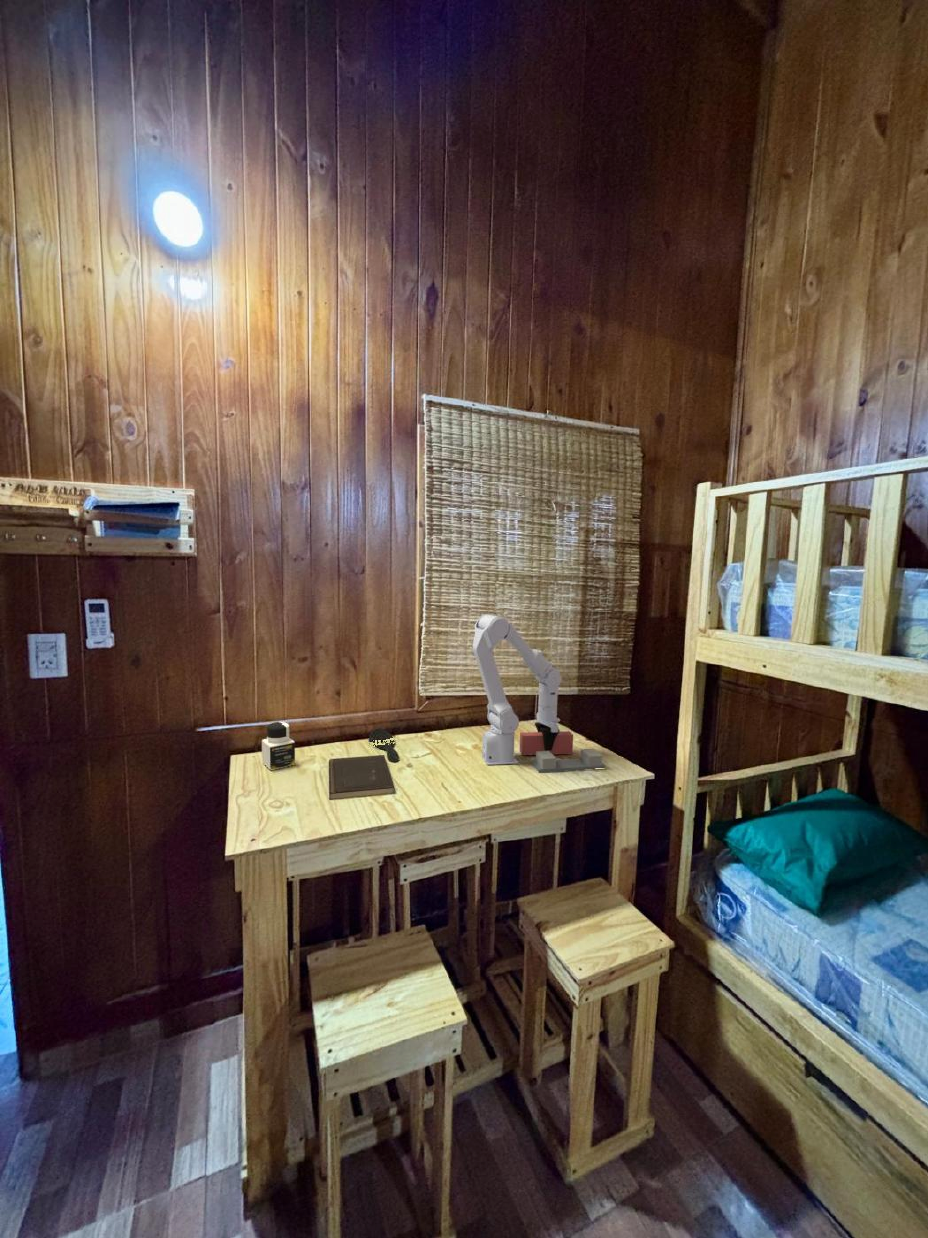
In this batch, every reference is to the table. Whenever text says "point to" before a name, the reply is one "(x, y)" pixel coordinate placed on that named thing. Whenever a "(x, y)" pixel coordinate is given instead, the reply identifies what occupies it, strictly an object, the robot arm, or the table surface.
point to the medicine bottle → (278, 747)
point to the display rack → (567, 762)
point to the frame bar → (535, 742)
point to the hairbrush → (384, 735)
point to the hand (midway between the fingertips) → (546, 747)
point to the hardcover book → (359, 777)
